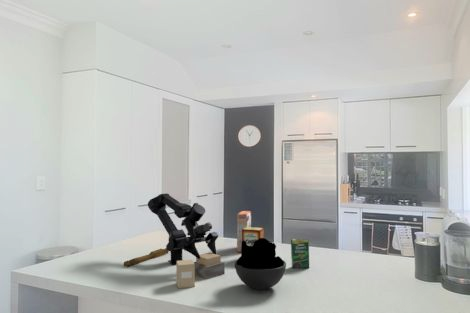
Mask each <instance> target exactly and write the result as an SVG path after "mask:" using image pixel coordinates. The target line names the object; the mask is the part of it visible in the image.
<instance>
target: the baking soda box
mask: <svg viewBox="0 0 470 313" xmlns="http://www.w3.org/2000/svg"><path fill="white" fill-rule="evenodd" d="M260 238H265V228H264V227H257V226H256V227H252V226H251V227H245V228H243V229H242V241H243V240H244V241H245V242H246V245H248V246H253V244H254V241H257V240H258V239H260Z"/></svg>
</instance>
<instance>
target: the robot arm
mask: <svg viewBox="0 0 470 313" xmlns="http://www.w3.org/2000/svg"><path fill="white" fill-rule="evenodd" d="M147 207H148V209H149V210H150V212H151V213H153V214H154V215H156V216H157V217H158V219H159V220H160V222H161V224H162V226H163V227H164V230H165V231H166V233H167V234H168V242H167V244H166V245H165V248H166V249H167V251H169V252H170V259H169V260H167V262H168V263H170V265H177V261H181V260H183V251H185V252H188V253H190V254H191V255H193V256H194V257H195V258H196V257H197V258H198V259H200V255H201V254H200V253H199V251H198V248H196V244H198V243H202V242H203V243H204V242H205V243H206V246H207V247H208V248H209V250H210V251H211V253H213V254H216V255H217V248H216V241H217V240H218V238H219V234H218V232H216V231H213V232H210V231H211V230H212V229H213V225H212V223H211V222H210V221H209V222H206V223H203V224H199V223H198V222H200V221H201V219H202V217H203V216H204V215H205V213H206V209H205V207H204V206H203V205H201V204H199V203H198V202H194V203H193V205H192V206H191V205H190V204H187V203H183V202H180V201H178V200H177V199H175V198H174V197H173V196H171V195H170V194H169V193H160V194H158V195H157V196H155V197H153V198H151V199H150V200H149V201H148V202H147ZM166 207H168V208H169V209H171V210H172V211H174V215H175V216H176V217H177V218H178V219H182V218H183V219H182V220H181V224H180V225H181V227H183V226H184V227H185V230H186V231H187V233H185V231H184V229H182V228H181V229H178V228H177V227H176V224H175V222H174V221H173V220H172V218H171V216H170V215H169V212H167V209H166ZM208 232H209V233H208ZM207 233H208V234H207ZM206 235H207V236H206Z"/></svg>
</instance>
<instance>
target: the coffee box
mask: <svg viewBox="0 0 470 313" xmlns="http://www.w3.org/2000/svg"><path fill="white" fill-rule="evenodd" d="M290 252H291V253H290V254H291V255H290V256H291V258H290V259H291V268H292V269H310V244H309V239H308V238H296V239H294V238H293V239H291V240H290Z"/></svg>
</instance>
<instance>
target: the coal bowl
mask: <svg viewBox="0 0 470 313" xmlns="http://www.w3.org/2000/svg"><path fill="white" fill-rule="evenodd" d="M276 249H277V244H276V243H274V242H271V241H270V240H268V239H266V238H265V237H264V238H260V239H258V240H257V241H254V244H253V246H248V245H246V242H245V241H244V240H243V241H242V247H241V252H240V254H241V255H240V256H239V257H238V258H237V259H236V260H235V261H234V269H235V272H236V274H237V277H238V278H239V280H240V281H241V282H242V283H243V284H244V285H246V286H247V287H249V288H251V289H254V290H259V291H260V290H262V291H263V290H267V289H270V288H273V287H275V286H276V285H277V284H278V283H279V282H280V281H281V280H282V279H283V276H284V275H285V272H286V268H287V262H286V261H285V260H283V259H282V257H280V256H276V255H277V253H276Z"/></svg>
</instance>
